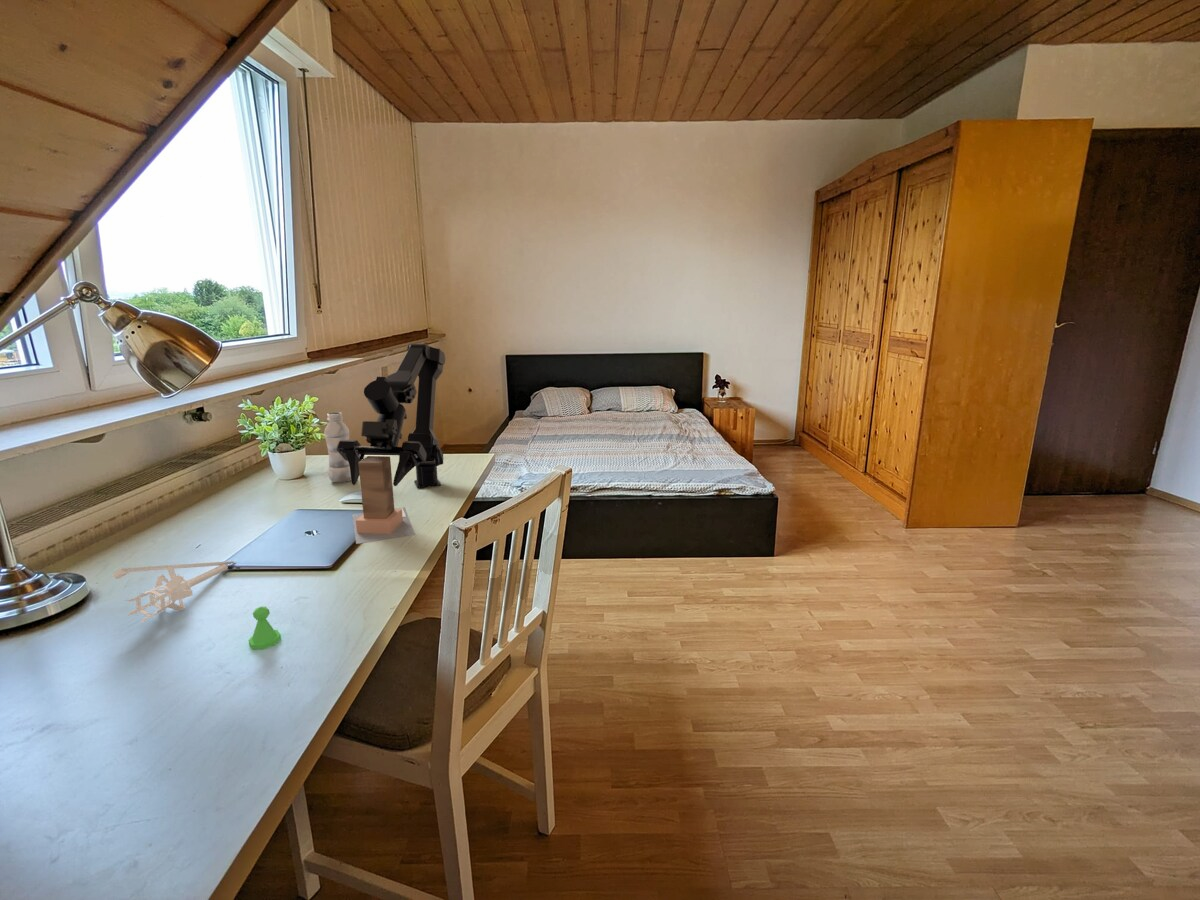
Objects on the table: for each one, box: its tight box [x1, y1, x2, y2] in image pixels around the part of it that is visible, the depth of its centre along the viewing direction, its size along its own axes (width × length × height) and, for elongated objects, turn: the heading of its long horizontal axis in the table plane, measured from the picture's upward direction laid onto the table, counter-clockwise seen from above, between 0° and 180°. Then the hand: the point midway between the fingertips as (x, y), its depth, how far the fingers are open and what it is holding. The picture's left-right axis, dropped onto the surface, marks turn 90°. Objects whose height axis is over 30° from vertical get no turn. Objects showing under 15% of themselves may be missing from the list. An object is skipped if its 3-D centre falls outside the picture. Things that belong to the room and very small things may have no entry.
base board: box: [351, 507, 416, 545], centre depth 128 cm, size 18×12×1 cm, turn 26°
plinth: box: [356, 508, 403, 534], centre depth 126 cm, size 8×8×3 cm
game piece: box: [248, 606, 282, 650], centre depth 85 cm, size 4×4×6 cm
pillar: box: [358, 455, 396, 519], centre depth 124 cm, size 5×5×13 cm
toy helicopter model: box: [112, 560, 235, 624], centre depth 98 cm, size 6×9×25 cm
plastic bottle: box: [323, 411, 351, 483], centre depth 157 cm, size 6×7×20 cm
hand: (373, 484), depth 123 cm, fingers open, 9 cm apart
